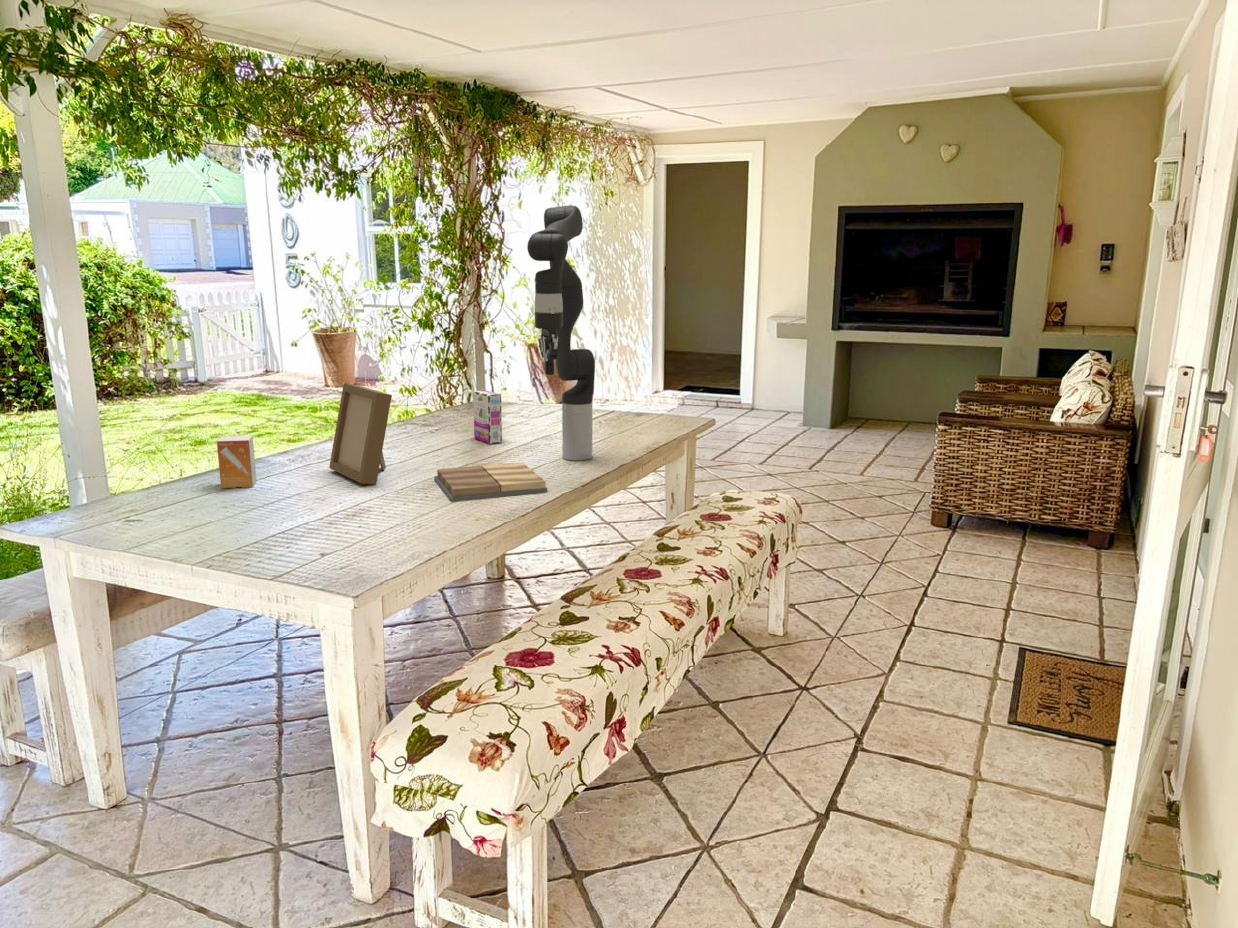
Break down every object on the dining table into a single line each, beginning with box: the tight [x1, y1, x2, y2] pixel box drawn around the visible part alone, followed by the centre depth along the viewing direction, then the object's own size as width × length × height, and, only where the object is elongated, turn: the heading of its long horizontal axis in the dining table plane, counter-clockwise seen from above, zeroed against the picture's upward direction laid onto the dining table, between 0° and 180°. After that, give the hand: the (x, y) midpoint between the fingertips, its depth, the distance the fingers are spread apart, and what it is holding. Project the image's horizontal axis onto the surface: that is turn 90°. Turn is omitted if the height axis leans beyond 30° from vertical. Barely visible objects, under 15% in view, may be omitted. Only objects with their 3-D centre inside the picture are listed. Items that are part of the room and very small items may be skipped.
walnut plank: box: [436, 465, 500, 497], centre depth 232 cm, size 22×12×2 cm, turn 22°
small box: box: [216, 435, 257, 489], centre depth 232 cm, size 8×6×13 cm
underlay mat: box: [433, 475, 548, 502], centre depth 235 cm, size 23×26×1 cm
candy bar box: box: [472, 390, 503, 445], centre depth 288 cm, size 11×5×16 cm, turn 37°
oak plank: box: [480, 462, 547, 492], centre depth 237 cm, size 22×12×2 cm, turn 22°
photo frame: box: [329, 383, 393, 486], centre depth 242 cm, size 15×22×25 cm
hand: (549, 374), depth 237 cm, fingers closed
